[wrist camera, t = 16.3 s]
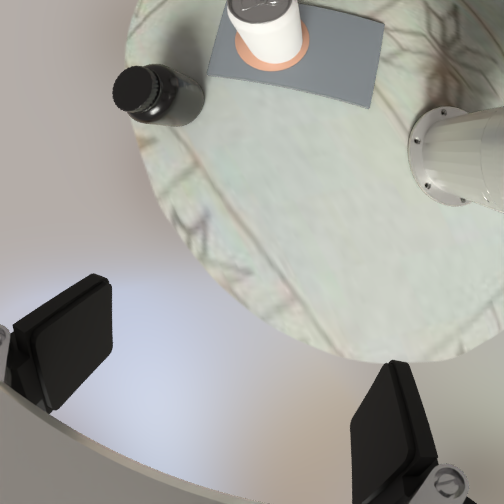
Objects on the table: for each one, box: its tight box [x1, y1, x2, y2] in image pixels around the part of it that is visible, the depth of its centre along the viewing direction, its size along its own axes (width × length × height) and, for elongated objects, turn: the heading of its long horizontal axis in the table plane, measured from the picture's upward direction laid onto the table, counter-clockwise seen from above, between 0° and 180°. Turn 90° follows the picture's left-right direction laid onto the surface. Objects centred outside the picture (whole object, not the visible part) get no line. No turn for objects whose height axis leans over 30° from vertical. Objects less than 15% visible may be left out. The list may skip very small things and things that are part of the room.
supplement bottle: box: [112, 64, 204, 127], centre depth 31 cm, size 7×7×12 cm
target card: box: [207, 1, 385, 109], centre depth 31 cm, size 20×12×1 cm, turn 78°
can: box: [227, 0, 303, 64], centre depth 26 cm, size 6×6×12 cm
